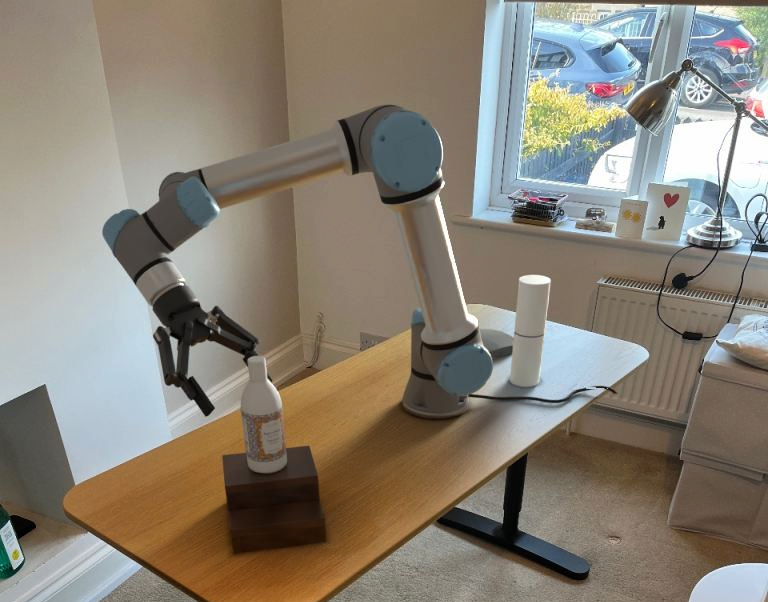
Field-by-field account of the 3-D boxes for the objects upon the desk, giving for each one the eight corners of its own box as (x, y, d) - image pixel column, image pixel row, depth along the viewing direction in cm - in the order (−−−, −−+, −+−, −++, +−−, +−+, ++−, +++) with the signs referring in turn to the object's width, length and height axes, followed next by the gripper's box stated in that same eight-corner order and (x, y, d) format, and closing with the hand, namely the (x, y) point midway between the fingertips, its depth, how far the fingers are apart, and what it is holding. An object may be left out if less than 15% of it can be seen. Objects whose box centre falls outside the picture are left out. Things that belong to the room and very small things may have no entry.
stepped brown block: (312, 490, 147) (309, 445, 142) (326, 541, 133) (323, 493, 128) (228, 501, 144) (222, 454, 139) (233, 554, 131) (226, 505, 125)
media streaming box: (523, 351, 204) (524, 340, 202) (480, 363, 197) (480, 352, 196) (488, 334, 214) (488, 324, 212) (446, 345, 207) (446, 335, 206)
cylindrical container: (504, 381, 188) (512, 280, 174) (520, 372, 192) (530, 272, 178) (528, 389, 184) (539, 286, 170) (544, 380, 188) (556, 279, 174)
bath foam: (258, 478, 132) (245, 371, 120) (241, 462, 137) (227, 356, 125) (294, 467, 135) (285, 361, 124) (276, 451, 140) (266, 347, 128)
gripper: (215, 290, 142) (280, 384, 143) (101, 328, 126) (175, 435, 127) (231, 266, 137) (299, 364, 138) (115, 303, 120) (192, 415, 121)
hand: (240, 398), depth 132 cm, fingers open, 13 cm apart
